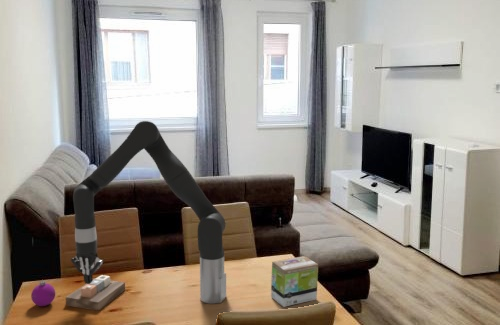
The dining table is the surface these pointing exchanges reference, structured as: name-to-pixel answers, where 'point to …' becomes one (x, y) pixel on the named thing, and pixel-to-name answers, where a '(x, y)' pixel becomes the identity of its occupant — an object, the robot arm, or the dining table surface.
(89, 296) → the key terracotta
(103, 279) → the key ivory
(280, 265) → the tea box
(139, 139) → the robot arm
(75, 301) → the keypad board
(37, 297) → the christmas ornament
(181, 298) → the dining table surface
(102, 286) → the key slate
